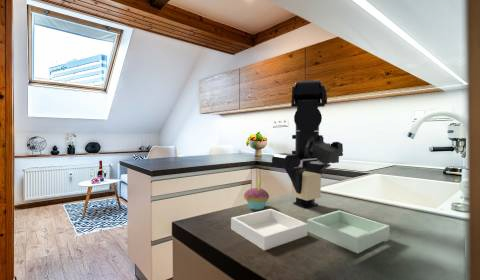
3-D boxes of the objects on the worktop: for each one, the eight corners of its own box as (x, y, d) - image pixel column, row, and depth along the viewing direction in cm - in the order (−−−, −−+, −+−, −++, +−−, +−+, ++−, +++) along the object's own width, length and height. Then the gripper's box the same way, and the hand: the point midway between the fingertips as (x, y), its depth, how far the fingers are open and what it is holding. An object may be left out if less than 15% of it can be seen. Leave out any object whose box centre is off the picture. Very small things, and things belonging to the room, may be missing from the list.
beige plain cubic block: (305, 193, 66) (305, 171, 66) (320, 197, 62) (320, 174, 61) (292, 195, 63) (292, 172, 63) (306, 200, 59) (307, 176, 59)
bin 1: (270, 220, 73) (270, 208, 73) (307, 237, 61) (307, 223, 61) (231, 230, 65) (231, 217, 65) (264, 252, 53) (264, 236, 53)
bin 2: (338, 222, 72) (339, 210, 72) (389, 240, 60) (389, 225, 60) (306, 233, 64) (306, 219, 64) (357, 256, 52) (357, 239, 52)
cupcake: (274, 209, 83) (274, 174, 83) (255, 215, 78) (256, 177, 77) (256, 203, 90) (256, 171, 89) (238, 208, 84) (239, 173, 84)
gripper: (305, 131, 50) (304, 206, 51) (358, 131, 60) (357, 194, 61) (270, 131, 59) (270, 194, 60) (321, 130, 69) (320, 185, 70)
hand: (306, 191), depth 62 cm, fingers closed on beige plain cubic block, 5 cm apart
